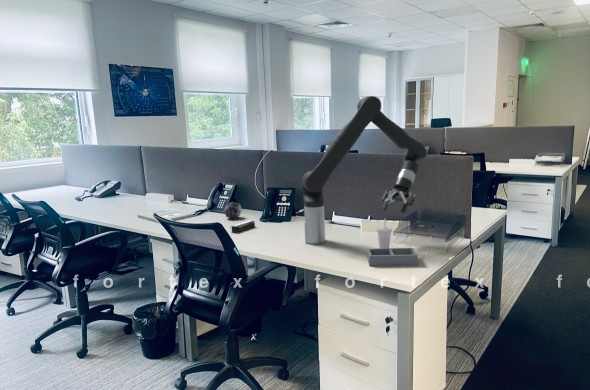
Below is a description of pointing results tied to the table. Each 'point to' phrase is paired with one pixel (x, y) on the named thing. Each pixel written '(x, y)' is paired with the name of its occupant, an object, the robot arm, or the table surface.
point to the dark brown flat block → (243, 226)
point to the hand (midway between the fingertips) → (393, 211)
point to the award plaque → (168, 214)
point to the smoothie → (384, 236)
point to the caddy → (391, 257)
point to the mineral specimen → (232, 210)
